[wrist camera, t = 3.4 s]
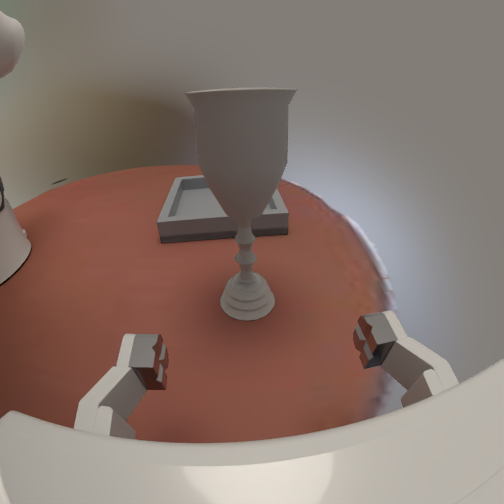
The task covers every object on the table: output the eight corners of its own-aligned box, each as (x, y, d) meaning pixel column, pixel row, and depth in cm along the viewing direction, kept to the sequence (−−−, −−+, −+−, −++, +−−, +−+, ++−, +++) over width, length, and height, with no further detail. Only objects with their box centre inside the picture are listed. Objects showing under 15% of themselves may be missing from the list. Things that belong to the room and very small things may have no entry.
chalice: (194, 304, 25) (161, 96, 15) (239, 267, 30) (230, 88, 19) (258, 342, 22) (255, 90, 11) (299, 294, 26) (315, 90, 16)
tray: (161, 243, 34) (156, 222, 32) (177, 193, 47) (175, 177, 45) (287, 234, 35) (288, 212, 33) (268, 187, 48) (268, 171, 46)
